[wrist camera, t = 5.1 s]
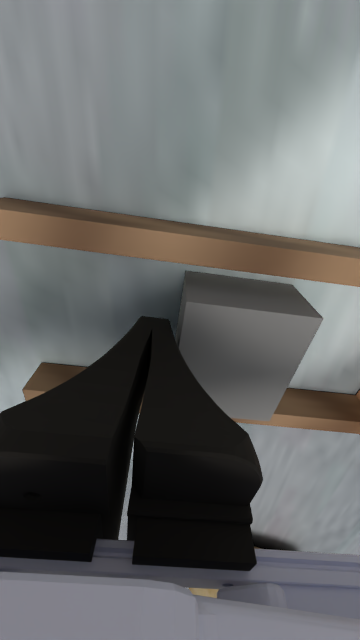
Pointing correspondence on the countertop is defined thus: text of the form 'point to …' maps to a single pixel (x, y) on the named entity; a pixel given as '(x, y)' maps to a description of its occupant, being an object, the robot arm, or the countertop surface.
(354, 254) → the rail lane
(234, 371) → the block
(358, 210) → the countertop surface
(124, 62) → the countertop surface
